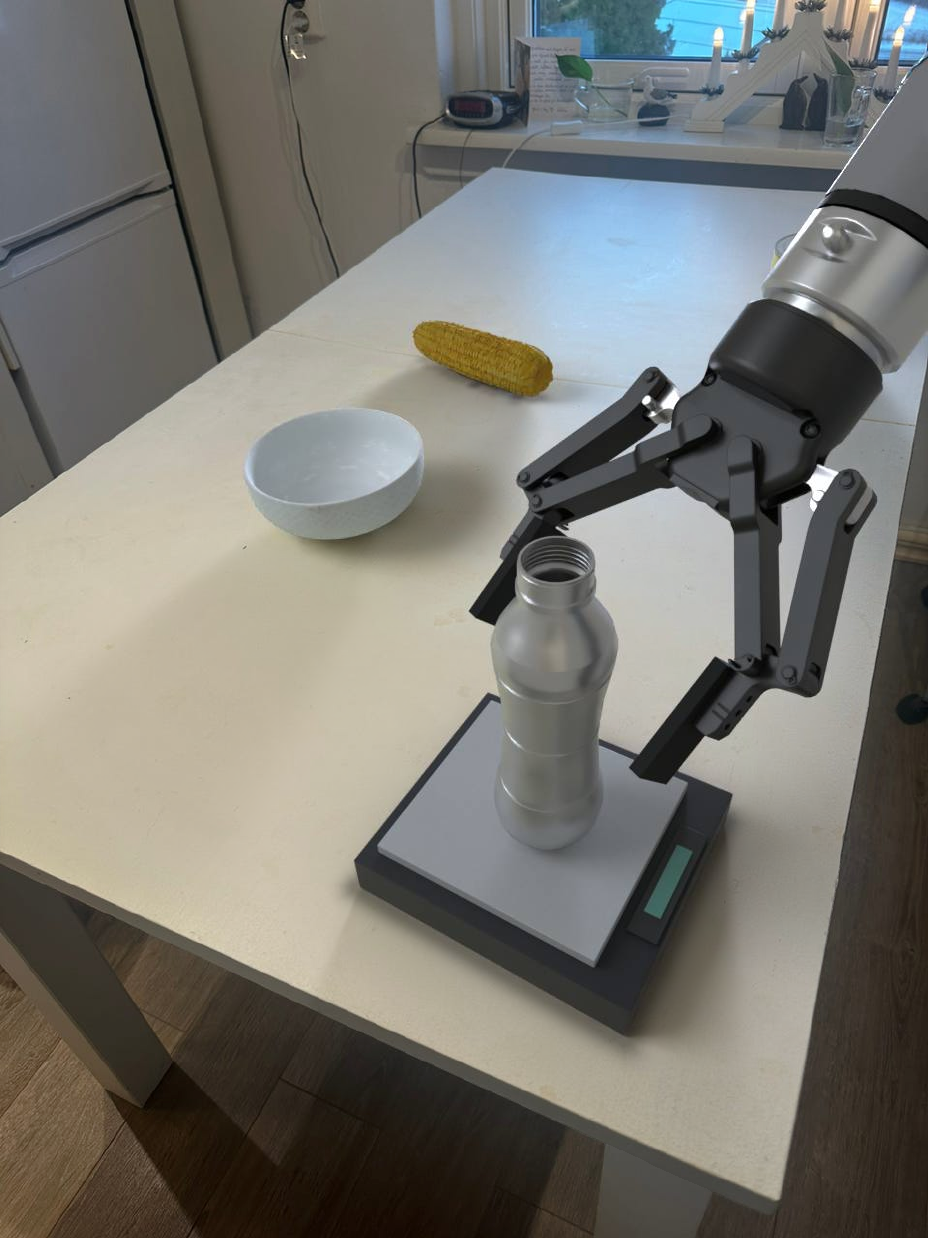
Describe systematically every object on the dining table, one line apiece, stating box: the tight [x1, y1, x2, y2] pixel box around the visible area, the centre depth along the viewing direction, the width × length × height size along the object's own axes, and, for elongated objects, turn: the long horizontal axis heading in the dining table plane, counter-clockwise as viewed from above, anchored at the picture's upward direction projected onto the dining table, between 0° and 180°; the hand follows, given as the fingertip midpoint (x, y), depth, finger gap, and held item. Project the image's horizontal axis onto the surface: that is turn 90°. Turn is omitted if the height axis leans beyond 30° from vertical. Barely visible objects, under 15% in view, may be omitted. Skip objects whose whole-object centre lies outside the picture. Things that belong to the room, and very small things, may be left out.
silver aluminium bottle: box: [489, 536, 619, 850], centre depth 47 cm, size 6×7×20 cm
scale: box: [353, 691, 734, 1037], centre depth 55 cm, size 18×16×4 cm
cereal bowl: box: [242, 407, 425, 541], centre depth 83 cm, size 17×17×7 cm
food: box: [412, 320, 554, 397], centre depth 104 cm, size 21×6×6 cm, turn 48°
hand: (558, 691), depth 46 cm, fingers open, 13 cm apart
